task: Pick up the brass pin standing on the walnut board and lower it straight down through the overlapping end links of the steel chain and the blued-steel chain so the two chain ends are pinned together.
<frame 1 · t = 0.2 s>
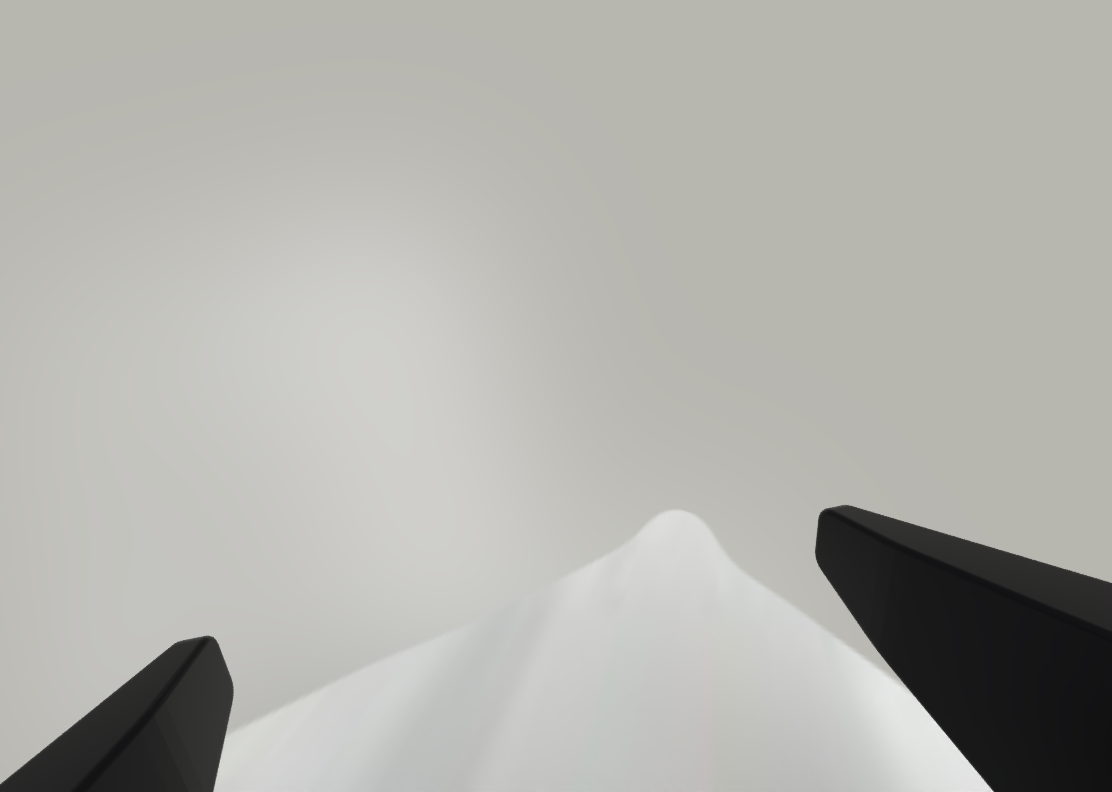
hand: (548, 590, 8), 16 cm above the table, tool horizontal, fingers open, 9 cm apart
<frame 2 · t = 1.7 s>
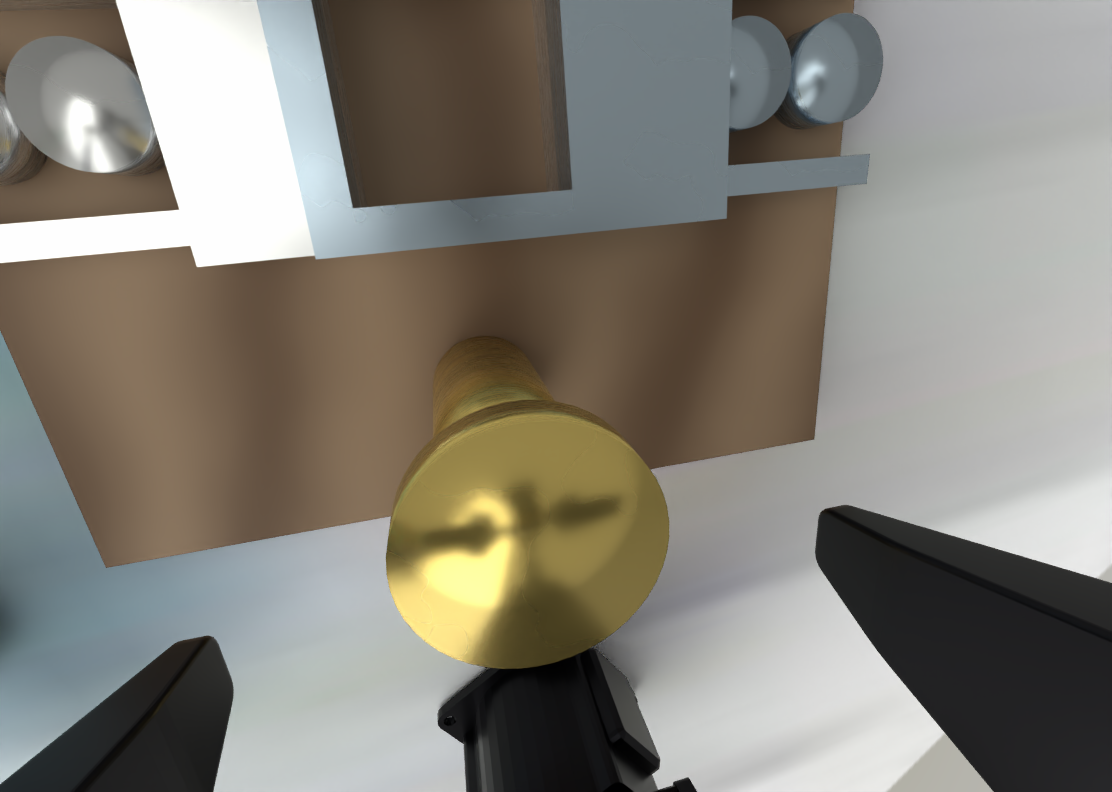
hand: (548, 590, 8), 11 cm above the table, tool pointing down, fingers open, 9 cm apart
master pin: (484, 385, 17), point 1 cm above the table, touching board
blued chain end: (616, 80, 14), on the board, point 3 cm above the table
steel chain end: (269, 103, 13), on the board, point 2 cm above the table
board: (464, 251, 17), on the table
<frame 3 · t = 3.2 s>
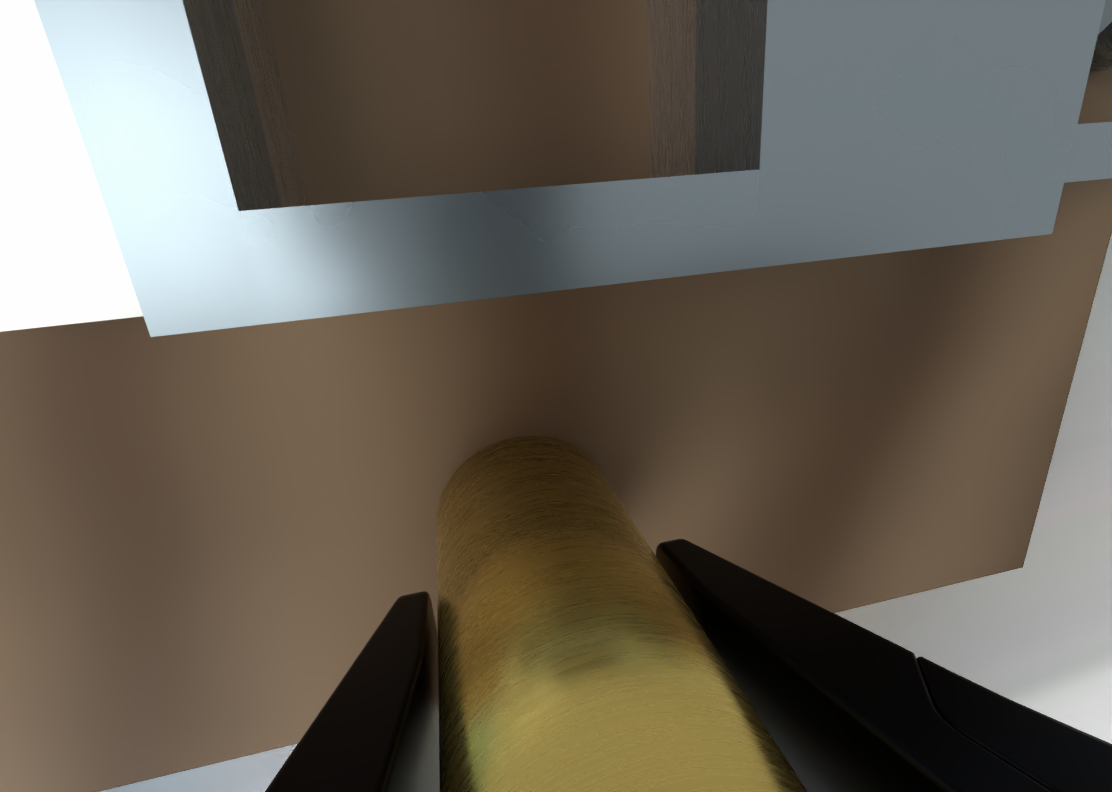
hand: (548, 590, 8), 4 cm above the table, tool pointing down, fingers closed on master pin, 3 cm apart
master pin: (526, 517, 10), point 1 cm above the table, touching board, gripper
board: (491, 284, 10), on the table
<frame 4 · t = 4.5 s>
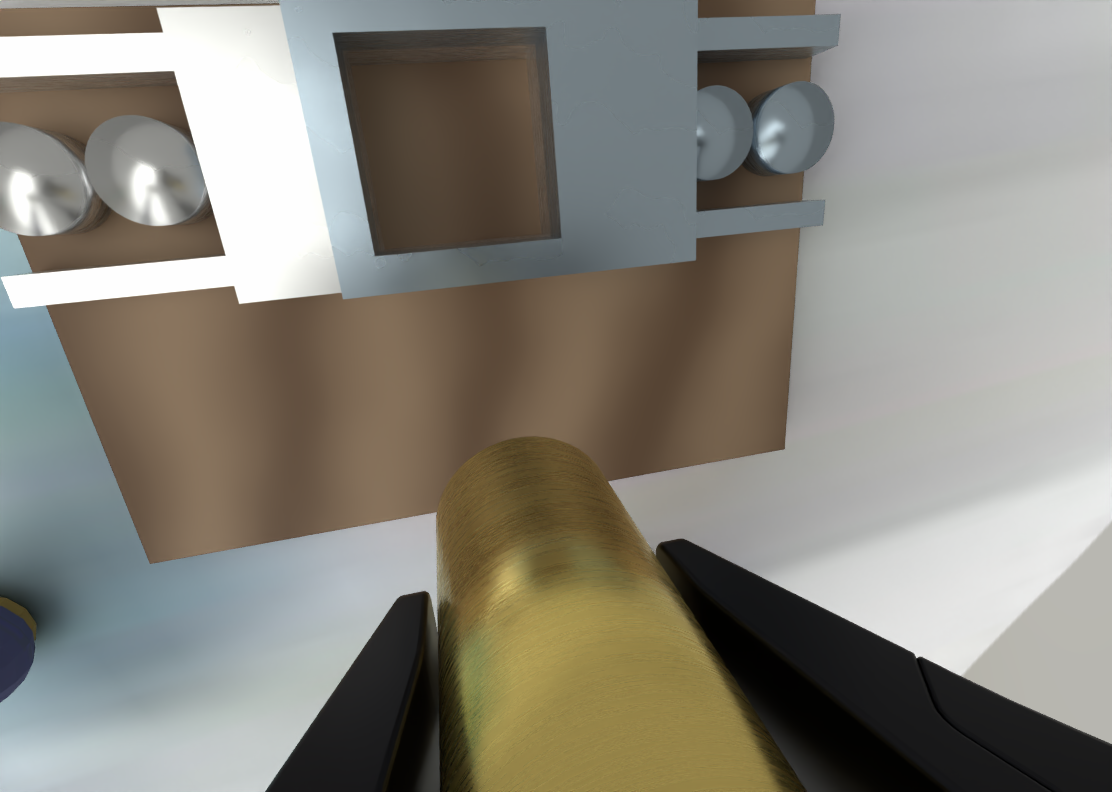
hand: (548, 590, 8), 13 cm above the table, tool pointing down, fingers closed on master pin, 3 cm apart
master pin: (526, 517, 10), point 11 cm above the table, touching gripper
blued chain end: (600, 141, 16), on the board, point 3 cm above the table
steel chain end: (302, 164, 15), on the board, point 2 cm above the table
board: (468, 283, 19), on the table
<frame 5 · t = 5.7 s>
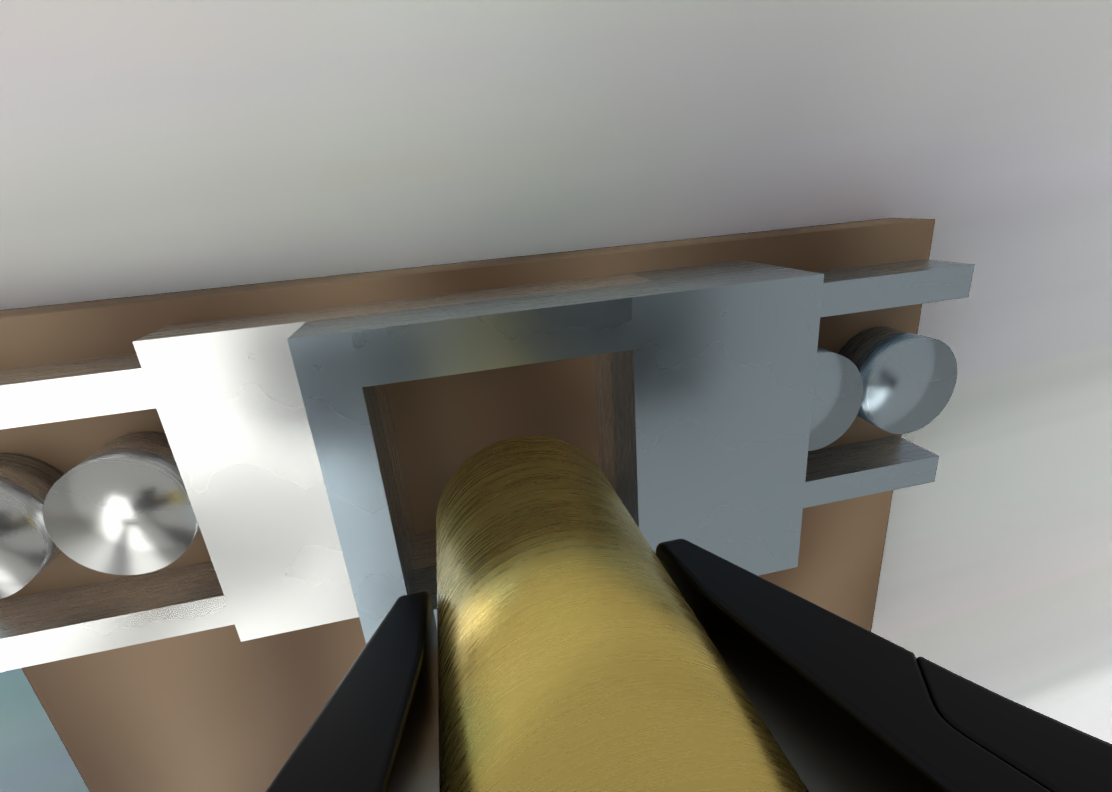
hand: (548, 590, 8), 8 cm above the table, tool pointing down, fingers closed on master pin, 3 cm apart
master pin: (526, 516, 10), point 6 cm above the table, touching gripper
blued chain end: (682, 426, 13), on the board, point 3 cm above the table
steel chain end: (318, 472, 12), on the board, point 2 cm above the table
board: (509, 532, 16), on the table
when the fingers open (5 cm above the table, at t = 6.3 s): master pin drops 2 cm, resting on board.
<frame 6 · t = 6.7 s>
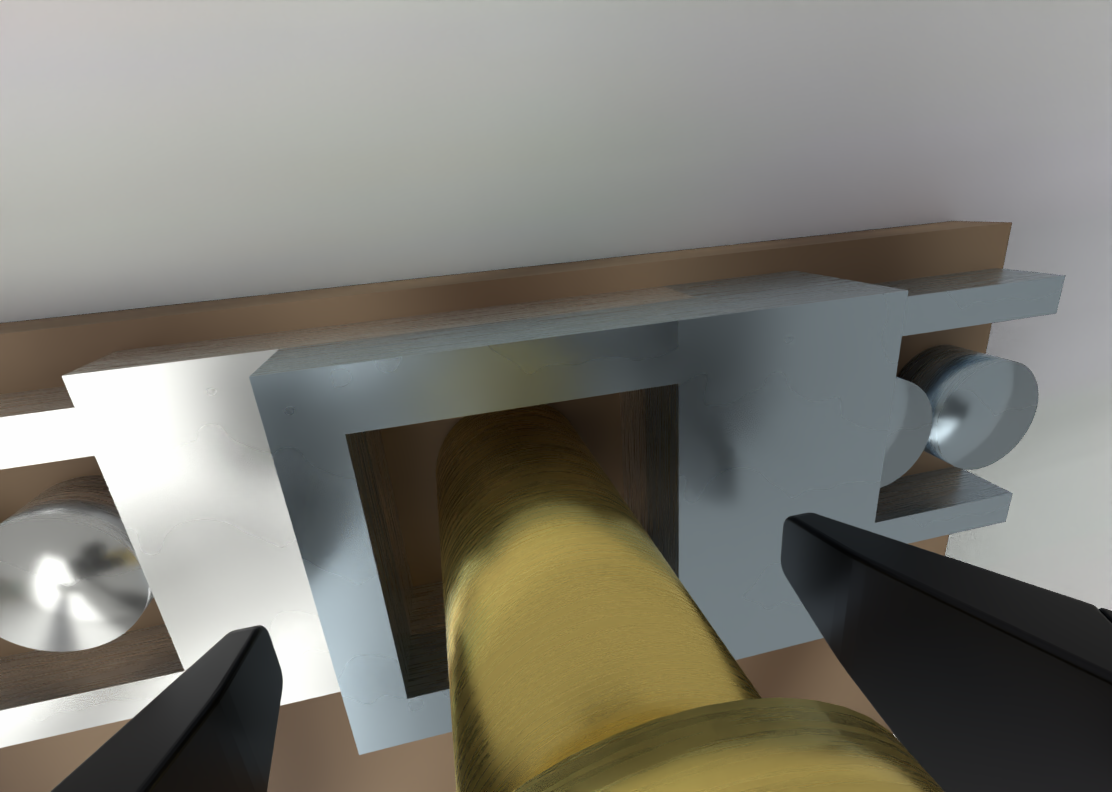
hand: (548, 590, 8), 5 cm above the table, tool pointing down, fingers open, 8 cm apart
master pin: (511, 468, 12), point 2 cm above the table, touching board
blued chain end: (725, 465, 11), on the board, point 2 cm above the table
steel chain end: (297, 522, 10), on the board, point 2 cm above the table
board: (520, 575, 14), on the table
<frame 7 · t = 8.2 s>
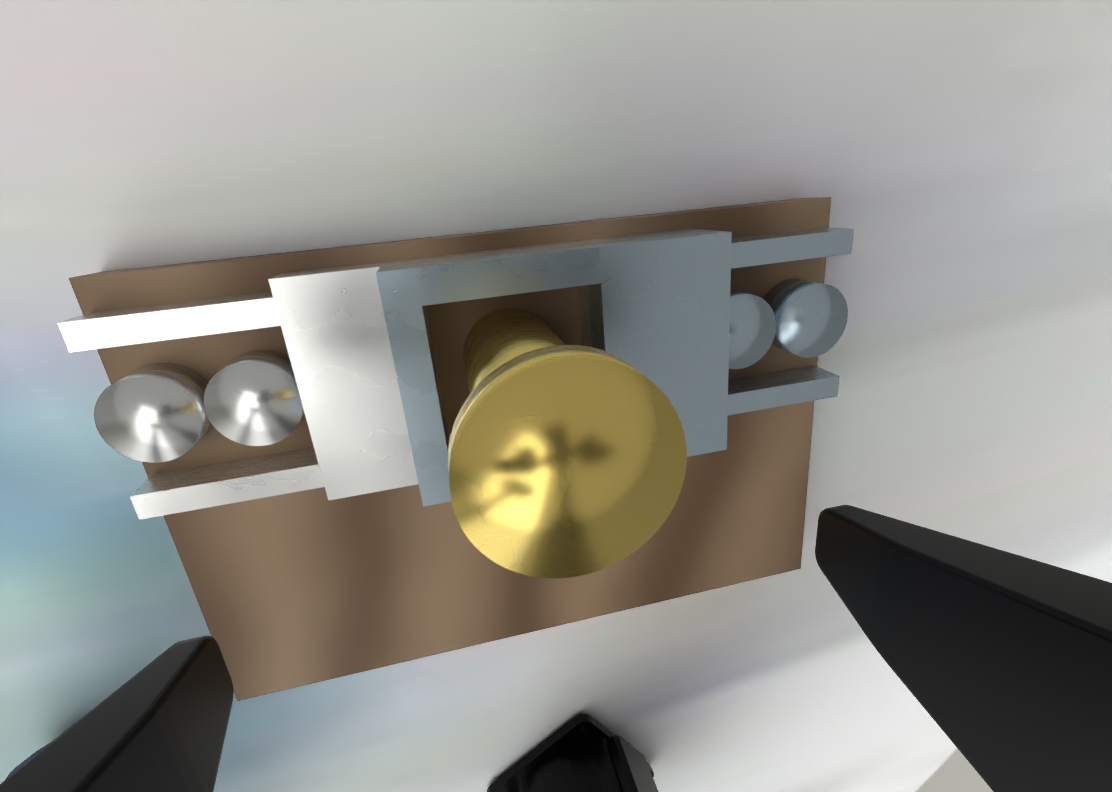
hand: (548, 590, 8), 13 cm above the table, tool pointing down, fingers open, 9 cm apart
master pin: (510, 354, 18), point 2 cm above the table, touching board
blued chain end: (641, 347, 18), on the board, point 3 cm above the table
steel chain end: (382, 379, 17), on the board, point 2 cm above the table
board: (517, 442, 21), on the table
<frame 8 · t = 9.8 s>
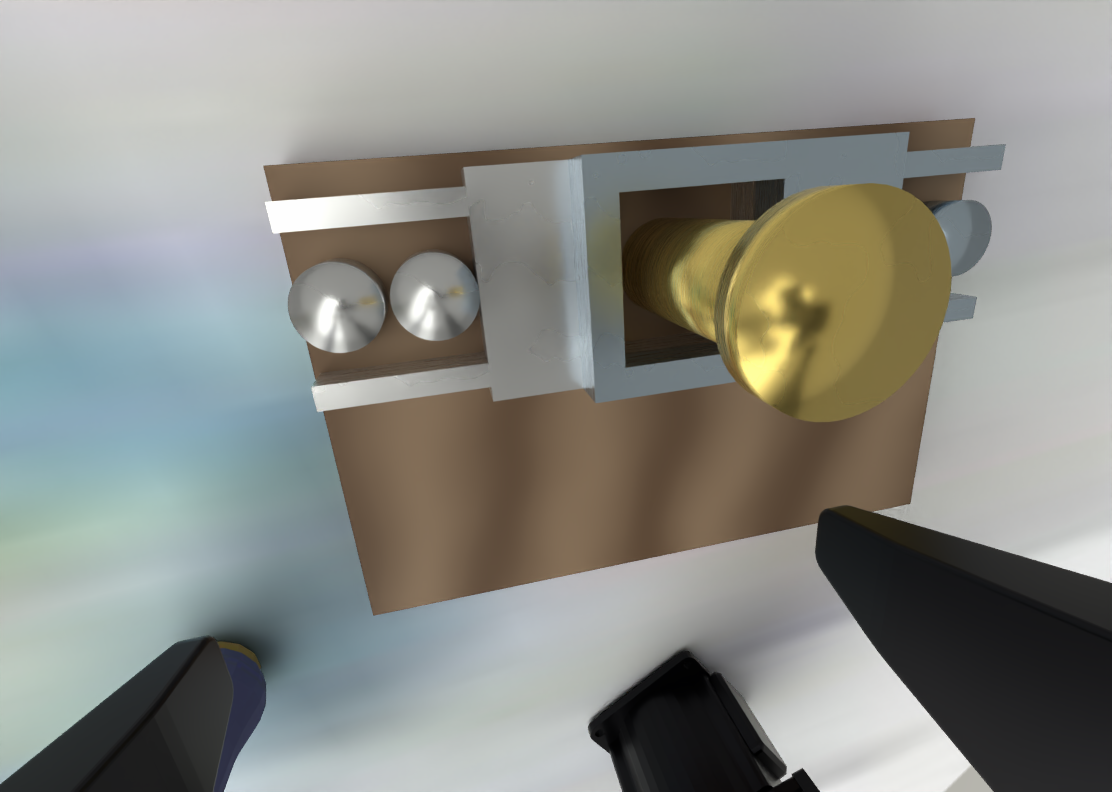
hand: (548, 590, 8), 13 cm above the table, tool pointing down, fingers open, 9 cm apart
rubber mallet: (225, 663, 22), on the table
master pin: (663, 266, 19), point 2 cm above the table, touching board
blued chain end: (798, 257, 18), on the board, point 3 cm above the table
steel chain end: (549, 281, 17), on the board, point 2 cm above the table
board: (649, 364, 21), on the table
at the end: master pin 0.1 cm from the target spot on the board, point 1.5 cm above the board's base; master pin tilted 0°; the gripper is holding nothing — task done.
